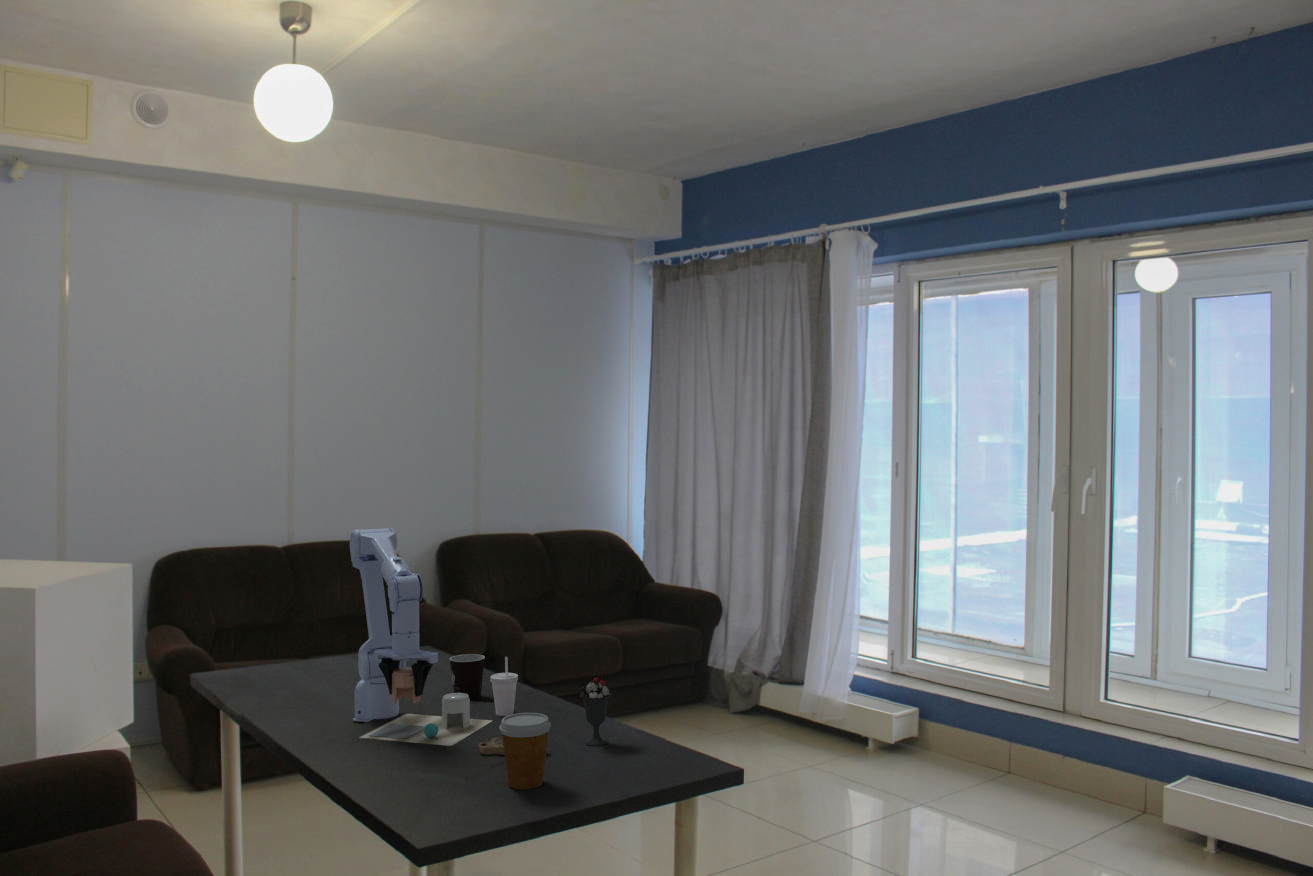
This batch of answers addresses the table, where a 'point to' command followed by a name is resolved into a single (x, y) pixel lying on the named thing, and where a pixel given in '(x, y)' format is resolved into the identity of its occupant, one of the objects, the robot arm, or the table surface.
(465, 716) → the white round stool
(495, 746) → the oil lamp
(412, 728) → the board
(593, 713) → the sundae
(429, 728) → the marble
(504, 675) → the smoothie
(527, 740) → the disposable coffee cup
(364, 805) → the table surface
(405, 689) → the pink stool
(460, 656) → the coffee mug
